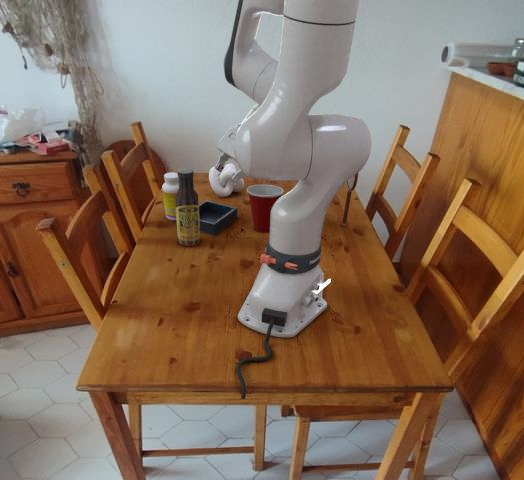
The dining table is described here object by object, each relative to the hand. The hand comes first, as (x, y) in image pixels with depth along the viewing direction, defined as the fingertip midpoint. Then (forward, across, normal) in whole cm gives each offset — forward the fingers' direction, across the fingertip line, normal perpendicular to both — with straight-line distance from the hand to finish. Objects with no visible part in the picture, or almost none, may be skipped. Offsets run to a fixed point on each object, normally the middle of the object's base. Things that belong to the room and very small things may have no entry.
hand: (224, 175), depth 110 cm
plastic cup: (+4, 0, +21) cm, 21 cm away
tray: (+12, -10, +12) cm, 20 cm away
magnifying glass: (-13, +10, +38) cm, 41 cm away
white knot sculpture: (+3, -29, +22) cm, 36 cm away
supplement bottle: (+18, -18, +6) cm, 27 cm away
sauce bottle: (+20, -1, +5) cm, 21 cm away
